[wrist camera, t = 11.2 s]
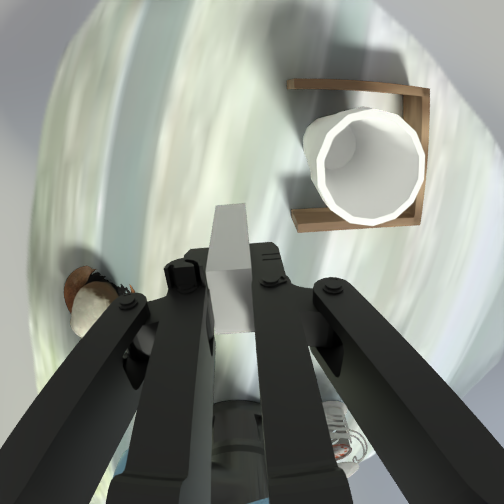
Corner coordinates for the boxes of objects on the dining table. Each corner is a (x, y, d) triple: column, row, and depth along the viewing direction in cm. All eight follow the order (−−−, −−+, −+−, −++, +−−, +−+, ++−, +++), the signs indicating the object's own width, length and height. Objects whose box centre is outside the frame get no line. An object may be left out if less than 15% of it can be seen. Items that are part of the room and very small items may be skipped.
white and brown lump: (128, 351, 46) (72, 367, 38) (99, 302, 50) (46, 310, 42) (157, 302, 42) (92, 314, 33) (122, 249, 46) (62, 252, 37)
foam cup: (301, 192, 37) (331, 239, 26) (277, 116, 33) (300, 127, 22) (375, 169, 36) (431, 206, 25) (356, 94, 32) (414, 99, 20)
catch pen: (403, 211, 39) (420, 225, 35) (291, 217, 39) (298, 232, 35) (410, 87, 31) (429, 88, 27) (286, 80, 31) (293, 78, 27)
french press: (303, 402, 55) (326, 524, 33) (361, 397, 56) (396, 508, 34) (296, 429, 60) (313, 536, 38) (348, 423, 61) (375, 524, 39)
